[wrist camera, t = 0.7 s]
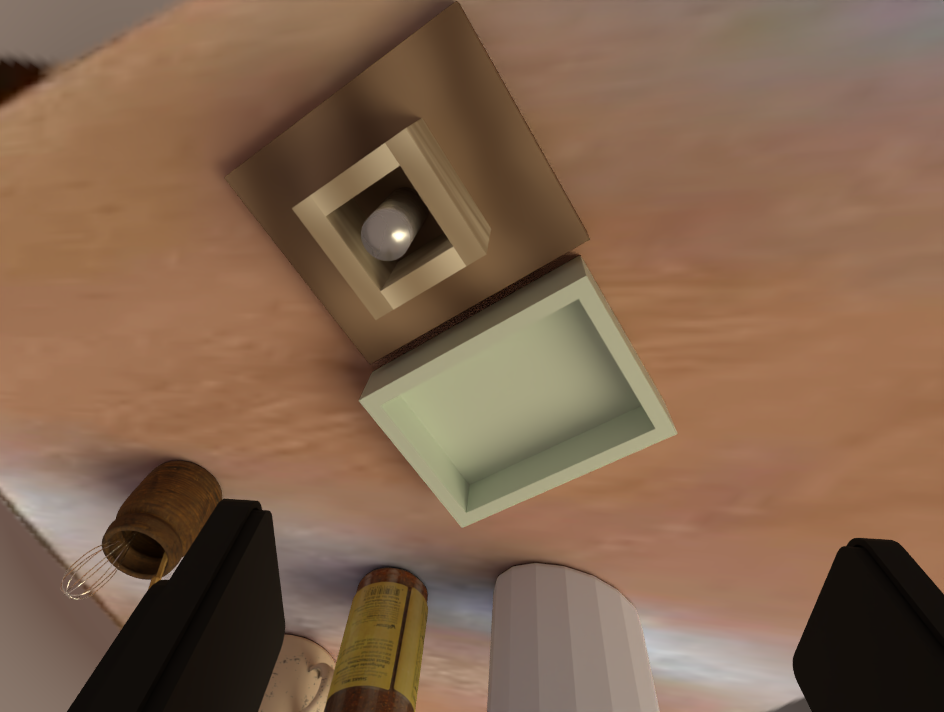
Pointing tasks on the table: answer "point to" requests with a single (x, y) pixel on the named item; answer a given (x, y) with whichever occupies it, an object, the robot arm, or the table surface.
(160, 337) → the table surface
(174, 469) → the utensil holder
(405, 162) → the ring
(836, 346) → the table surface
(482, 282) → the stake board
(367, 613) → the sauce bottle
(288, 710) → the teacup with lid
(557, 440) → the tray
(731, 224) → the table surface
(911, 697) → the robot arm
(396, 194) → the cylinder
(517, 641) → the soap bottle
